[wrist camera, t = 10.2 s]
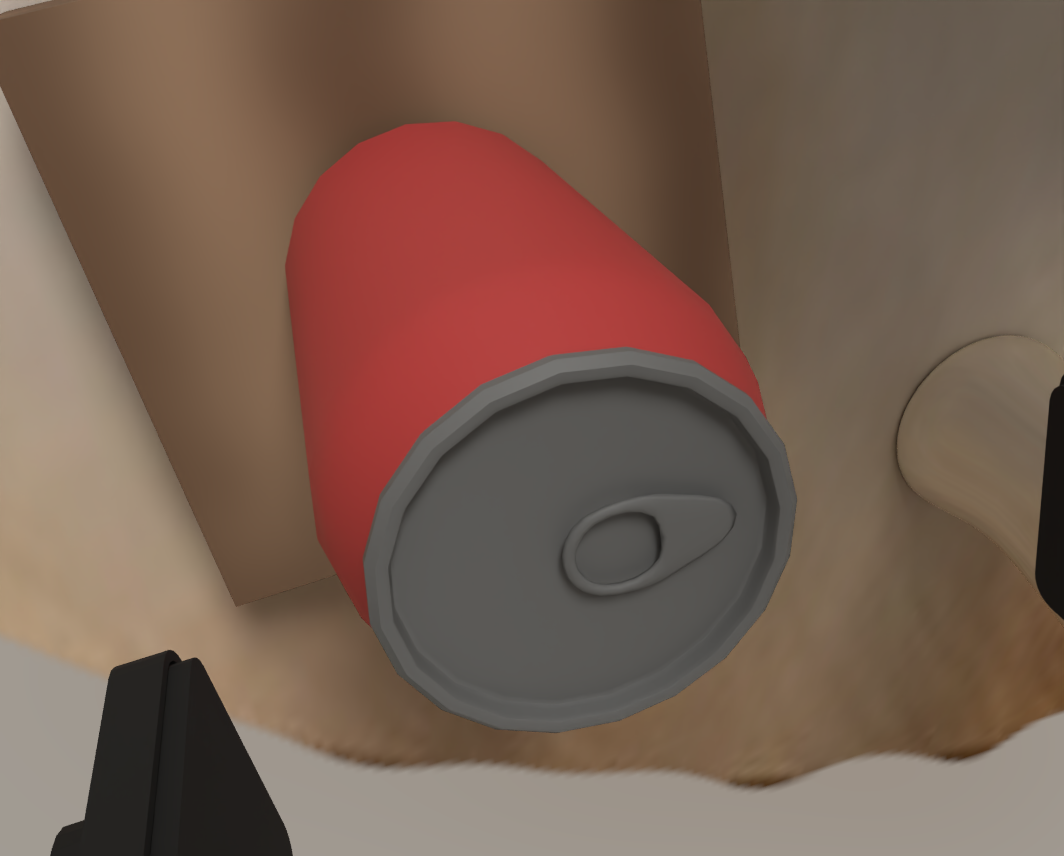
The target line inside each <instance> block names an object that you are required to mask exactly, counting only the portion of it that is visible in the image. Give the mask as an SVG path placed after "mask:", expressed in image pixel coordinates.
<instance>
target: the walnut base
mask: <svg viewBox="0 0 1064 856" xmlns="http://www.w3.org/2000/svg"><path fill="white" fill-rule="evenodd" d="M0 87H1V89H2V91H3V93H4V95H5V98H6V100H7V102H8V104H9V106H10V109H11V111H12V113H13V115H14V117H15V120H16V122H17V124H18V126H19V128H20V131H21V133H22V135H23V137H24V140H25V142H26V144H27V146H28V148H29V151H30V153H31V155H32V157H33V159H34V162H35V164H36V166H37V168H38V170H39V173H40V175H41V177H42V179H43V181H44V184H45V186H46V188H47V190H48V193H49V195H50V197H51V199H52V201H53V204H54V206H55V208H56V210H57V212H58V215H59V217H60V219H61V221H62V223H63V226H64V228H65V230H66V232H67V234H68V237H69V239H70V241H71V243H72V246H73V248H74V250H75V252H76V254H77V257H78V259H79V261H80V263H81V265H82V268H83V270H84V272H85V274H86V276H87V279H88V281H89V283H90V285H91V288H92V290H93V292H94V294H95V296H96V299H97V301H98V303H99V305H100V307H101V310H102V312H103V314H104V316H105V318H106V321H107V323H108V325H109V327H110V329H111V332H112V334H113V336H114V338H115V341H116V343H117V345H118V347H119V349H120V352H121V354H122V356H123V358H124V360H125V363H126V365H127V367H128V369H129V371H130V374H131V376H132V378H133V380H134V382H135V385H136V387H137V389H138V391H139V394H140V396H141V398H142V400H143V402H144V405H145V407H146V409H147V411H148V413H149V416H150V418H151V420H152V422H153V424H154V427H155V429H156V431H157V433H158V436H159V438H160V440H161V442H162V444H163V447H164V449H165V451H166V453H167V455H168V458H169V460H170V462H171V464H172V466H173V469H174V471H175V473H176V475H177V477H178V480H179V482H180V484H181V486H182V489H183V491H184V493H185V495H186V497H187V500H188V502H189V504H190V506H191V508H192V511H193V513H194V515H195V517H196V519H197V522H198V524H199V526H200V528H201V530H202V533H203V535H204V537H205V539H206V542H207V544H208V546H209V548H210V550H211V553H212V555H213V557H214V559H215V561H216V564H217V566H218V568H219V570H220V572H221V575H222V577H223V579H224V581H225V583H226V586H227V588H228V590H229V592H230V595H231V597H232V599H233V601H234V603H235V606H236V607H237V606H240V605H243V604H246V603H250V602H253V601H256V600H259V599H262V598H265V597H268V596H271V595H275V594H278V593H281V592H284V591H287V590H290V589H293V588H296V587H300V586H303V585H306V584H309V583H312V582H315V581H318V580H321V579H325V578H328V577H331V576H334V575H337V574H336V572H335V570H334V568H333V567H332V565H331V563H330V561H329V559H328V558H327V556H326V554H325V552H324V550H323V549H322V547H321V545H320V543H319V541H318V540H317V533H316V526H315V518H314V511H313V503H312V495H311V488H310V480H309V472H308V464H307V455H306V446H305V437H304V429H303V420H302V411H301V403H300V394H299V385H298V376H297V368H296V359H295V350H294V341H293V333H292V324H291V315H290V307H289V298H288V289H287V280H286V272H285V263H286V258H287V253H288V248H289V244H290V239H291V234H292V229H293V224H294V220H295V217H296V216H297V214H298V212H299V211H300V209H301V207H302V206H303V204H304V202H305V201H306V199H307V197H308V196H309V194H310V192H311V191H312V189H313V187H314V185H315V184H316V182H317V180H318V179H319V177H320V176H321V175H322V174H323V173H324V172H326V171H327V170H328V169H329V168H330V167H331V166H333V165H334V164H335V163H336V162H337V161H338V160H340V159H341V158H342V157H343V156H344V155H345V154H347V153H348V152H349V151H350V150H351V149H352V148H354V147H355V146H356V145H357V144H358V143H361V142H363V141H365V140H368V139H370V138H373V137H375V136H378V135H380V134H383V133H385V132H388V131H390V130H393V129H395V128H398V127H400V126H403V125H405V124H419V123H435V122H451V121H456V122H460V123H464V124H467V125H471V126H475V127H478V128H482V129H486V130H489V131H493V132H497V133H500V134H503V135H504V136H506V137H507V138H509V139H510V140H512V141H513V142H515V143H516V144H518V145H519V146H521V147H522V148H524V149H525V150H526V151H528V152H529V153H531V154H532V155H534V156H535V157H537V158H538V159H540V160H541V161H542V162H543V163H545V164H546V165H547V166H548V167H549V168H550V169H552V170H553V171H554V172H555V173H556V174H557V175H559V176H560V177H561V178H562V179H563V180H564V181H566V182H567V183H568V184H569V185H570V186H571V187H573V188H574V189H575V190H576V191H577V192H578V193H580V194H581V195H582V196H583V197H584V198H585V199H587V200H588V201H589V202H590V203H591V204H592V205H594V206H595V207H596V208H597V209H598V210H599V211H601V212H602V213H603V214H604V215H605V216H606V217H608V218H609V219H610V220H611V221H612V222H613V223H615V224H616V225H617V226H618V227H619V228H620V229H622V230H623V231H624V232H625V233H626V234H627V235H629V236H630V237H631V238H632V239H633V240H634V241H636V242H637V243H638V244H639V245H640V246H641V247H643V248H644V249H645V250H646V251H647V252H648V253H650V254H651V255H652V256H653V257H654V258H655V259H657V260H658V261H659V262H660V263H661V264H662V265H664V266H665V267H666V268H667V269H668V270H669V271H671V272H672V273H673V274H674V275H675V276H676V277H678V278H679V279H680V280H681V281H682V282H683V283H685V284H686V285H687V286H688V287H689V288H690V289H692V290H693V291H694V292H695V293H696V294H697V295H699V296H700V297H701V298H702V299H703V300H704V301H706V302H707V303H708V304H709V305H710V307H711V308H712V309H713V311H714V312H715V314H716V315H717V317H718V318H719V319H720V321H721V322H722V324H723V325H724V327H725V328H726V329H727V331H728V332H729V334H730V335H731V337H732V338H733V339H734V341H735V342H736V344H737V345H738V347H739V348H740V343H739V334H738V325H737V317H736V308H735V299H734V290H733V281H732V272H731V264H730V255H729V246H728V237H727V228H726V219H725V211H724V202H723V193H722V184H721V175H720V166H719V158H718V149H717V140H716V131H715V122H714V113H713V105H712V96H711V87H710V78H709V69H708V60H707V52H706V43H705V34H704V25H703V16H702V7H701V0H52V1H47V2H43V3H39V4H35V5H31V6H27V7H23V8H19V9H15V10H10V11H6V12H4V13H2V14H0Z"/></svg>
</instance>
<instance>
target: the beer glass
mask: <svg viewBox="0 0 1064 856" xmlns="http://www.w3.org/2000/svg"><path fill="white" fill-rule="evenodd" d="M1063 375H1064V359H1063V358H1062V357H1061V356H1060V355H1058V354H1057V353H1056V352H1055V351H1053V350H1052V349H1051V348H1049V347H1048V346H1046V345H1045V344H1043V343H1041V342H1039V341H1037V340H1034V339H1031V338H1028V337H1023V336H1017V335H1002V336H995V337H990V338H986V339H983V340H980V341H977V342H975V343H972V344H970V345H968V346H966V347H964V348H962V349H960V350H959V351H957V352H955V353H954V354H952V355H951V356H949V357H948V358H947V359H945V360H944V361H943V362H942V363H941V364H939V365H938V366H937V367H936V368H935V369H934V370H933V371H932V372H931V373H930V374H929V375H928V376H927V377H926V378H925V380H924V381H923V382H922V383H921V385H920V386H919V387H918V389H917V390H916V392H915V393H914V395H913V396H912V398H911V400H910V402H909V403H908V405H907V407H906V410H905V412H904V414H903V417H902V420H901V423H900V427H899V431H898V436H897V459H898V464H899V468H900V471H901V473H902V475H903V477H904V479H905V481H906V482H907V484H908V485H909V486H910V488H911V489H912V490H913V491H914V492H915V493H916V494H918V495H919V496H920V497H921V498H923V499H924V500H926V501H927V502H929V503H931V504H932V505H934V506H936V507H938V508H939V509H941V510H943V511H945V512H947V513H949V514H951V515H953V516H955V517H957V518H958V519H960V520H962V521H964V522H966V523H968V524H969V525H971V526H972V527H974V528H976V529H977V530H979V531H980V532H981V533H982V534H984V535H985V536H986V537H988V538H989V539H990V540H991V541H992V542H993V543H994V544H995V545H996V546H997V547H998V548H999V549H1001V550H1002V551H1003V552H1004V553H1005V554H1006V555H1007V557H1008V558H1009V559H1010V560H1011V561H1012V563H1013V564H1014V565H1015V566H1016V568H1017V569H1018V570H1019V571H1020V572H1021V574H1022V575H1023V576H1024V577H1025V579H1026V580H1027V581H1028V583H1029V584H1030V585H1031V586H1032V588H1033V589H1034V590H1035V592H1036V593H1037V594H1038V596H1039V597H1040V598H1041V600H1042V601H1043V602H1044V604H1045V605H1046V606H1047V607H1048V609H1049V610H1050V611H1051V613H1052V614H1053V615H1054V616H1055V618H1056V619H1057V620H1058V621H1059V623H1060V624H1061V625H1062V627H1063V628H1064V620H1063V619H1062V618H1061V617H1060V616H1059V615H1058V614H1057V613H1055V612H1054V611H1053V610H1052V609H1051V608H1050V607H1049V606H1048V604H1047V603H1046V602H1045V601H1044V599H1043V598H1042V596H1041V594H1040V592H1039V590H1038V588H1037V584H1036V580H1035V566H1036V554H1037V542H1038V530H1039V518H1040V506H1041V495H1042V483H1043V471H1044V459H1045V447H1046V435H1047V424H1048V412H1049V400H1050V396H1051V393H1052V391H1053V390H1054V388H1056V387H1058V386H1059V385H1060V381H1061V378H1062V376H1063Z"/></svg>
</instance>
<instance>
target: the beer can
mask: <svg viewBox="0 0 1064 856" xmlns="http://www.w3.org/2000/svg"><path fill="white" fill-rule="evenodd" d="M285 272H286V280H287V289H288V298H289V307H290V315H291V324H292V333H293V341H294V350H295V359H296V368H297V376H298V385H299V394H300V403H301V411H302V420H303V429H304V437H305V446H306V455H307V464H308V472H309V480H310V488H311V495H312V503H313V511H314V518H315V526H316V533H317V540H318V541H319V543H320V545H321V547H322V549H323V550H324V552H325V554H326V556H327V558H328V559H329V561H330V563H331V565H332V567H333V568H334V570H335V572H336V574H337V576H338V577H339V579H340V581H341V583H342V585H343V586H344V588H345V590H346V592H347V594H348V595H349V597H350V599H351V600H352V602H353V604H354V606H355V607H356V609H357V611H358V613H359V614H360V616H361V618H362V619H363V620H364V621H365V622H366V623H367V624H368V625H369V626H370V627H371V628H372V629H373V630H374V632H375V634H376V636H377V638H378V640H379V641H380V643H381V645H382V647H383V649H384V650H385V652H386V654H387V656H388V658H389V659H390V661H391V663H392V665H393V667H394V668H395V670H396V672H397V674H398V675H399V676H401V677H402V678H403V679H404V680H405V681H407V682H408V683H409V684H410V685H412V686H413V687H414V688H415V689H417V690H418V691H419V692H420V693H421V694H423V695H424V696H425V697H426V698H428V699H429V700H430V701H431V702H433V703H434V704H435V705H436V706H437V707H439V708H440V709H441V710H444V711H446V712H449V713H452V714H455V715H457V716H460V717H463V718H466V719H469V720H471V721H474V722H477V723H480V724H482V725H485V726H488V727H491V728H494V729H497V730H515V731H532V732H549V733H559V732H564V731H569V730H574V729H580V728H585V727H590V726H595V725H600V724H605V723H610V722H616V721H620V720H622V719H624V718H626V717H629V716H631V715H633V714H635V713H638V712H640V711H642V710H644V709H647V708H649V707H651V706H653V705H655V704H658V703H660V702H662V701H664V700H667V699H669V698H671V697H673V696H676V695H677V694H678V693H679V692H681V691H682V690H683V689H685V688H686V687H687V686H689V685H690V684H691V683H693V682H694V681H695V680H697V679H698V678H699V677H701V676H702V675H703V674H705V673H706V672H707V671H709V670H710V669H711V668H713V667H714V666H715V665H717V664H718V663H719V662H721V661H722V660H723V659H725V658H726V657H727V655H728V654H729V653H730V652H731V651H732V649H733V648H734V647H735V646H736V645H737V643H738V642H739V641H740V640H741V638H742V637H743V636H744V635H745V634H746V632H747V631H748V630H749V629H750V628H751V626H752V625H753V624H754V623H755V621H756V620H757V619H758V618H759V617H760V615H761V614H762V613H763V612H764V611H765V609H766V607H767V605H768V603H769V600H770V598H771V596H772V594H773V592H774V589H775V587H776V585H777V583H778V581H779V579H780V576H781V574H782V572H783V570H784V568H785V565H786V563H787V561H788V559H789V557H790V551H791V543H792V535H793V527H794V519H795V511H796V503H797V496H796V492H795V488H794V484H793V479H792V475H791V471H790V467H789V462H788V458H787V454H786V449H785V445H784V443H783V442H782V440H781V439H780V438H779V436H778V435H777V433H776V432H775V431H774V429H773V428H772V426H771V425H770V424H769V422H768V421H767V418H766V414H765V410H764V406H763V402H762V398H761V393H760V389H759V385H758V381H757V379H756V377H755V375H754V373H753V371H752V369H751V367H750V365H749V363H748V361H747V359H746V357H745V355H744V354H743V352H742V351H741V349H740V348H739V347H738V345H737V344H736V342H735V341H734V339H733V338H732V337H731V335H730V334H729V332H728V331H727V329H726V328H725V327H724V325H723V324H722V322H721V321H720V319H719V318H718V317H717V315H716V314H715V312H714V311H713V309H712V308H711V307H710V305H709V304H708V303H707V302H706V301H704V300H703V299H702V298H701V297H700V296H699V295H697V294H696V293H695V292H694V291H693V290H692V289H690V288H689V287H688V286H687V285H686V284H685V283H683V282H682V281H681V280H680V279H679V278H678V277H676V276H675V275H674V274H673V273H672V272H671V271H669V270H668V269H667V268H666V267H665V266H664V265H662V264H661V263H660V262H659V261H658V260H657V259H655V258H654V257H653V256H652V255H651V254H650V253H648V252H647V251H646V250H645V249H644V248H643V247H641V246H640V245H639V244H638V243H637V242H636V241H634V240H633V239H632V238H631V237H630V236H629V235H627V234H626V233H625V232H624V231H623V230H622V229H620V228H619V227H618V226H617V225H616V224H615V223H613V222H612V221H611V220H610V219H609V218H608V217H606V216H605V215H604V214H603V213H602V212H601V211H599V210H598V209H597V208H596V207H595V206H594V205H592V204H591V203H590V202H589V201H588V200H587V199H585V198H584V197H583V196H582V195H581V194H580V193H578V192H577V191H576V190H575V189H574V188H573V187H571V186H570V185H569V184H568V183H567V182H566V181H564V180H563V179H562V178H561V177H560V176H559V175H557V174H556V173H555V172H554V171H553V170H552V169H550V168H549V167H548V166H547V165H546V164H545V163H543V162H542V161H541V160H540V159H538V158H537V157H535V156H534V155H532V154H531V153H529V152H528V151H526V150H525V149H524V148H522V147H521V146H519V145H518V144H516V143H515V142H513V141H512V140H510V139H509V138H507V137H506V136H504V135H503V134H500V133H497V132H493V131H489V130H486V129H482V128H478V127H475V126H471V125H467V124H464V123H460V122H456V121H451V122H435V123H419V124H405V125H403V126H400V127H398V128H395V129H393V130H390V131H388V132H385V133H383V134H380V135H378V136H375V137H373V138H370V139H368V140H365V141H363V142H361V143H358V144H357V145H356V146H355V147H354V148H352V149H351V150H350V151H349V152H348V153H347V154H345V155H344V156H343V157H342V158H341V159H340V160H338V161H337V162H336V163H335V164H334V165H333V166H331V167H330V168H329V169H328V170H327V171H326V172H324V173H323V174H322V175H321V176H320V177H319V179H318V180H317V182H316V184H315V185H314V187H313V189H312V191H311V192H310V194H309V196H308V197H307V199H306V201H305V202H304V204H303V206H302V207H301V209H300V211H299V212H298V214H297V216H296V217H295V220H294V224H293V229H292V234H291V239H290V244H289V248H288V253H287V258H286V263H285Z"/></svg>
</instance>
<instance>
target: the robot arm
mask: <svg viewBox="0 0 1064 856" xmlns="http://www.w3.org/2000/svg"><path fill="white" fill-rule="evenodd" d="M1035 580H1036V584H1037V588H1038V590H1039V592H1040V594H1041V596H1042V598H1043V599H1044V601H1045V602H1046V603H1047V604H1048V606H1049V607H1050V608H1051V609H1052V610H1053V611H1054V612H1055V613H1057V614H1058V615H1059V616H1060V617H1061V618H1062V619H1063V620H1064V375H1063V376H1062V378H1061V381H1060V385H1059V386H1058V387H1056V388H1054V390H1053V391H1052V393H1051V396H1050V400H1049V412H1048V424H1047V435H1046V447H1045V459H1044V471H1043V483H1042V495H1041V506H1040V518H1039V530H1038V542H1037V554H1036V566H1035ZM50 856H293V855H292V849H291V844H290V841H289V837H288V833H287V830H286V828H285V826H284V823H283V821H282V819H281V818H280V815H279V814H278V812H277V810H276V808H275V806H274V804H273V802H272V800H271V798H270V796H269V794H268V792H267V790H266V788H265V786H264V784H263V782H262V780H261V778H260V776H259V774H258V772H257V770H256V768H255V766H254V764H253V762H252V760H251V758H250V757H249V755H248V753H247V751H246V749H245V747H244V745H243V743H242V741H241V739H240V737H239V735H238V733H237V731H236V729H235V727H234V725H233V723H232V721H231V719H230V717H229V715H228V713H227V711H226V709H225V707H224V705H223V703H222V701H221V699H220V697H219V696H218V694H217V692H216V690H215V688H214V686H213V684H212V682H211V680H210V678H209V676H208V674H207V672H206V670H205V668H204V666H203V665H202V663H201V661H200V660H199V659H198V658H191V659H188V660H185V661H181V659H180V658H179V656H178V655H177V654H176V653H175V652H174V651H172V650H168V651H164V652H161V653H158V654H155V655H152V656H148V657H145V658H142V659H139V660H136V661H132V662H129V663H126V664H123V665H120V666H116V667H114V668H113V669H112V670H111V673H110V676H109V679H108V685H107V691H106V697H105V703H104V708H103V715H102V720H101V726H100V732H99V738H98V744H97V749H96V755H95V761H94V768H93V773H92V779H91V784H90V790H89V796H88V803H87V808H86V814H85V820H83V821H80V822H77V823H74V824H71V825H68V826H65V827H63V828H62V830H61V831H60V832H59V833H58V835H57V836H56V838H55V842H54V844H53V848H52V851H51V855H50Z"/></svg>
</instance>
